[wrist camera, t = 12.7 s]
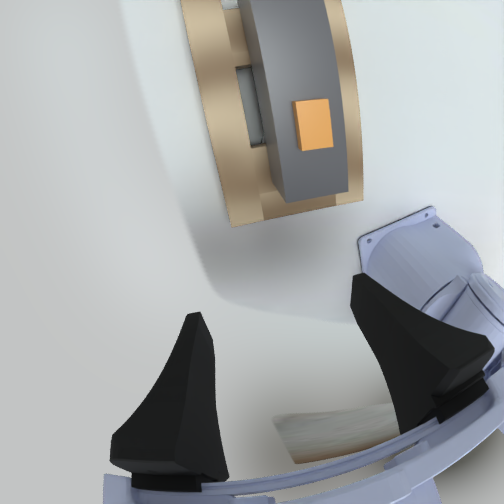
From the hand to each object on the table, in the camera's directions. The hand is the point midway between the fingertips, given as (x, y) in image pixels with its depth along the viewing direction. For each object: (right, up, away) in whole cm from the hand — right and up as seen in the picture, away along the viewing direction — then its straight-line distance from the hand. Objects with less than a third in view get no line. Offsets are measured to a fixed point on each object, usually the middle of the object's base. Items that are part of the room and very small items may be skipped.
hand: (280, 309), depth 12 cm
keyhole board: (0, +16, +2) cm, 16 cm away
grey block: (0, +14, +3) cm, 15 cm away
